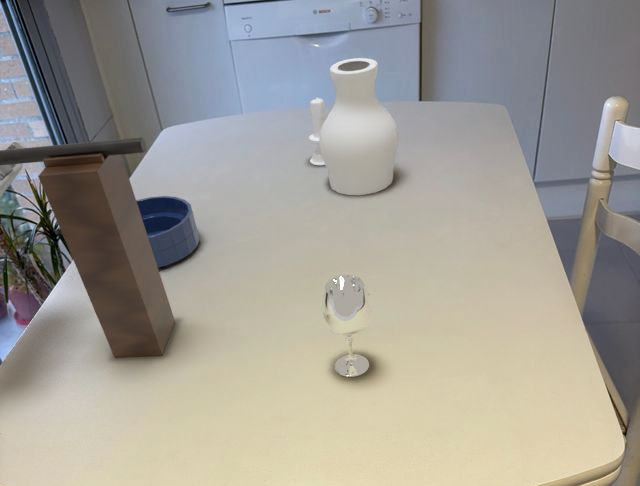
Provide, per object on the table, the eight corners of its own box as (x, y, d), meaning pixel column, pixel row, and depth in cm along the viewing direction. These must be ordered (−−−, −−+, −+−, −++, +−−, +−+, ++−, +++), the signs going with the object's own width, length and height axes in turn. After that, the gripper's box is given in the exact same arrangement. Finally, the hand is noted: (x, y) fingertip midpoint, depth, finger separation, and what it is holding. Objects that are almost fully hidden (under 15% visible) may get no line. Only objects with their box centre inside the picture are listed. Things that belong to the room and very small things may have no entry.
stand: (114, 357, 91) (34, 168, 72) (130, 324, 96) (60, 140, 78) (162, 355, 90) (94, 163, 71) (175, 321, 95) (115, 135, 77)
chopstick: (-21, 167, 76) (-26, 153, 75) (-14, 166, 77) (-18, 151, 76) (142, 153, 73) (139, 137, 72) (147, 151, 75) (144, 136, 74)
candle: (314, 154, 134) (307, 92, 125) (339, 154, 132) (333, 92, 124) (306, 165, 130) (299, 102, 122) (332, 166, 129) (326, 102, 120)
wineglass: (382, 359, 84) (378, 278, 75) (359, 385, 81) (352, 304, 72) (344, 347, 86) (336, 268, 78) (321, 372, 83) (310, 292, 75)
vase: (313, 176, 126) (299, 64, 112) (379, 158, 129) (374, 46, 115) (340, 205, 116) (329, 85, 102) (412, 184, 119) (411, 65, 105)
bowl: (101, 275, 108) (88, 242, 103) (127, 230, 118) (116, 199, 114) (189, 270, 106) (180, 236, 101) (207, 225, 116) (199, 193, 112)
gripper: (-129, 247, 73) (-64, 179, 67) (-44, 170, 87) (16, 109, 81) (-78, 287, 76) (-11, 226, 70) (-4, 207, 91) (57, 150, 85)
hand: (4, 162), depth 76 cm, fingers open, 8 cm apart
